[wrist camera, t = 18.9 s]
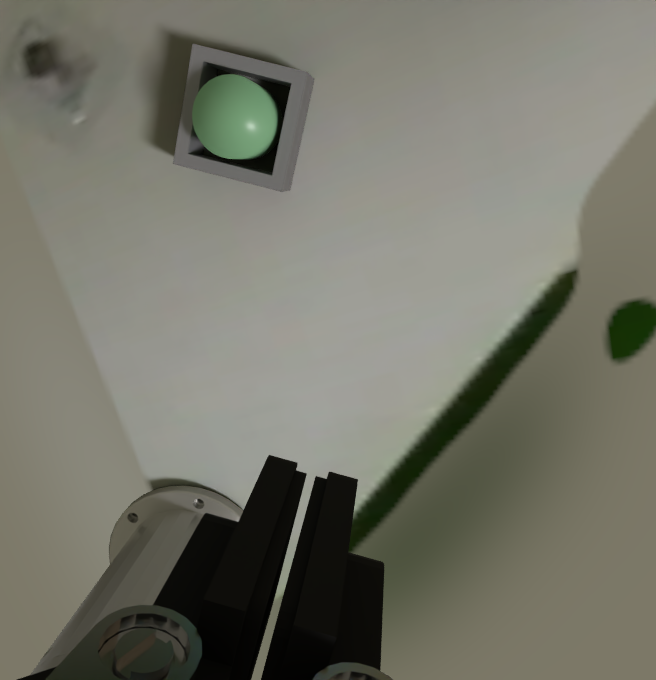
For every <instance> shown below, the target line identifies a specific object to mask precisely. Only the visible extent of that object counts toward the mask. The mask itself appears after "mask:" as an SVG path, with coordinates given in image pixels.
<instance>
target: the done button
mask: <svg viewBox="0 0 656 680" xmlns="http://www.w3.org/2000/svg"><path fill="white" fill-rule="evenodd" d="M192 120H193V126H194V130H195V132H196V135H197V137H198V138H199V140H200V141H201V143H202V144H203V145H204V146H205V147H206V148H207V149H208V150H209V151H210V152H212V153H213V154H215V155H217V156H220V157H223V158H227V159H247V160H250V159H257V158H260V157H262V156H264V155H266V154H267V153H269V152H270V151H271V150H272V149H273V148H274V147H275V146H276V144H277V143H278V141H279V139H280V135H281V131H282V126H283V116H282V112H281V109H280V106H279V104H278V102H277V100H276V99H275V97H274V96H273V95H272V94H271V93H270V92H269V91H268V90H266V89H265V88H263V87H261V86H260V85H258V84H256V83H254V82H253V81H251V80H249V79H247V78H245V77H243V76H239V75H234V74H226V75H221V76H217V77H215V78H213V79H211V80H210V81H208V82H207V83H206V84H205V85H204V86H203V87H202V88H201V89H200V91H199V92H198V94H197V96H196V98H195V101H194V104H193V110H192Z"/></svg>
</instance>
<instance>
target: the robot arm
mask: <svg viewBox="0 0 656 680" xmlns="http://www.w3.org/2000/svg"><path fill="white" fill-rule="evenodd" d="M296 468H297V463H296V462H293V461H289V460H285V459H282V458H278V457H274V456H271V455H269V456H268V458H267V460H266V462H265V464H264V467H263V469H262V471H261V473H260V475H259V478H258V480H257V482H256V484H255V486H254V489H253V491H252V493H251V495H250V497H249V500H248V502H247V504H246V506H245V508H244V511H243V510H242V509H241V508H239V507H238V506H237V505H235V504H234V503H233V502H231V501H230V500H228V499H226V498H225V497H223V496H221V495H219V494H217V493H215V492H212V491H209V490H206V489H202V488H198V487H191V486H168V487H164V488H159V489H155V490H153V491H151V492H148V493H146V494H144V495H143V496H141V497H140V498H138V499H137V500H136V501H134V502H133V503H132V504H131V505H130V506H129V507H128V508H127V509H126V510H125V512H124V513H123V514H122V515H121V517H120V518H119V520H118V521H117V523H116V524H115V527H114V529H113V532H112V534H111V539H110V545H109V558H110V566H109V567H108V569H107V570H106V571H105V573H104V574H103V575H102V577H101V578H100V580H99V581H98V582H97V584H96V585H95V586H94V588H93V589H92V590H91V592H90V593H89V595H88V596H87V597H86V599H85V600H84V601H83V603H82V604H81V606H80V607H79V608H78V610H77V611H76V612H75V614H74V615H73V616H72V618H71V619H70V621H69V622H68V623H67V625H66V626H65V627H64V629H63V630H62V632H61V633H60V634H59V636H58V637H57V638H56V640H55V641H54V643H53V644H52V645H51V647H50V648H49V650H48V651H47V652H46V654H45V655H44V656H43V658H42V659H41V660H40V662H39V663H38V665H37V667H36V668H35V669H34V671H33V672H32V673H31V675H29V676H26V677H24V678H21V679H17V680H251V678H252V674H253V671H254V667H255V664H256V660H257V657H258V654H259V650H260V647H261V643H262V640H263V636H264V633H265V629H266V626H267V623H268V619H269V615H270V612H271V608H272V605H273V601H274V598H275V594H276V590H277V586H278V582H279V578H280V575H281V571H282V567H283V563H284V559H285V555H286V551H287V548H288V544H289V540H290V536H291V532H292V528H293V525H294V521H295V517H296V513H297V509H298V505H299V501H300V498H301V494H302V490H303V486H304V482H305V478H306V473H303V472H299V471H296ZM357 482H358V479H354V478H351V477H347V476H344V475H340V474H336V473H333V472H329V474H328V477H327V479H325V478H321V477H317V476H316V477H315V481H314V485H313V488H312V492H311V496H310V499H309V503H308V507H307V510H306V514H305V518H304V522H303V525H302V529H301V533H300V536H299V540H298V544H297V547H296V551H295V555H294V558H293V562H292V566H291V569H290V573H289V577H288V581H287V584H286V588H285V592H284V595H283V599H282V603H281V607H280V610H279V614H278V618H277V621H276V625H275V629H274V633H273V636H272V640H271V644H270V648H269V652H268V655H267V659H266V663H265V666H264V671H263V674H262V678H261V680H393V679H392V678H391V677H390V676H388V675H386V674H384V673H383V672H381V671H380V662H381V638H382V636H381V635H382V610H383V587H384V585H383V584H384V563H383V562H381V561H377V560H374V559H370V558H366V557H363V556H359V555H356V554H352V553H349V552H348V549H349V542H350V535H351V527H352V520H353V512H354V505H355V497H356V490H357Z"/></svg>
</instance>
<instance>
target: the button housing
mask: <svg viewBox="0 0 656 680" xmlns="http://www.w3.org/2000/svg"><path fill="white" fill-rule="evenodd" d="M217 69H221V70H225V71H229V72H233V73H237V74H241V75H245V76H249V77H253V78H257V79H261V80H265V81H269V82H273V83H277V84H281V85H285V86H289V87H291V88H290V92H289V97H288V102H287V107H286V111H285V116H284V121H283V126H282V131H281V135H280V140H279V145H278V150H277V155H276V159H275V164H274V169H273V173H272V172H268V171H264V170H260V169H256V168H252V167H248V166H244V165H240V164H236V163H232V162H229V161H225V160H221V159H217V158H213V157H209V156H205V155H202V154H203V148H204V145H203V144H202V143H201V141H200V140H199V138H198V137H197V135H196V132H195V130H194V126H193V120H192V110H193V104H194V101H195V98H196V96H197V94H198V92H199V91H200V89H201V88H202V87H203V86H204V85H205V84H206V83H207V82H208V81H210V80H211V79H213V78H215V77H216V74H217ZM313 83H314V78H313V77H312V76H311V75H310V74H309V73H308V72H305V71H301V70H297V69H293V68H289V67H285V66H281V65H277V64H273V63H269V62H265V61H261V60H257V59H253V58H249V57H245V56H241V55H237V54H233V53H229V52H225V51H221V50H217V49H213V48H209V47H205V46H201V45H197V44H192V50H191V57H190V63H189V69H188V75H187V81H186V87H185V93H184V99H183V106H182V112H181V118H180V124H179V130H178V136H177V142H176V148H175V155H174V161H173V164H175V165H179V166H183V167H187V168H191V169H195V170H199V171H203V172H207V173H210V174H214V175H218V176H222V177H226V178H230V179H234V180H238V181H241V182H245V183H249V184H253V185H257V186H261V187H265V188H269V189H273V190H276V191H280V192H284V191H288V190H290V188H291V184H292V179H293V175H294V170H295V165H296V161H297V156H298V152H299V147H300V143H301V138H302V133H303V129H304V124H305V120H306V115H307V111H308V106H309V101H310V97H311V92H312V88H313Z"/></svg>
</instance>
